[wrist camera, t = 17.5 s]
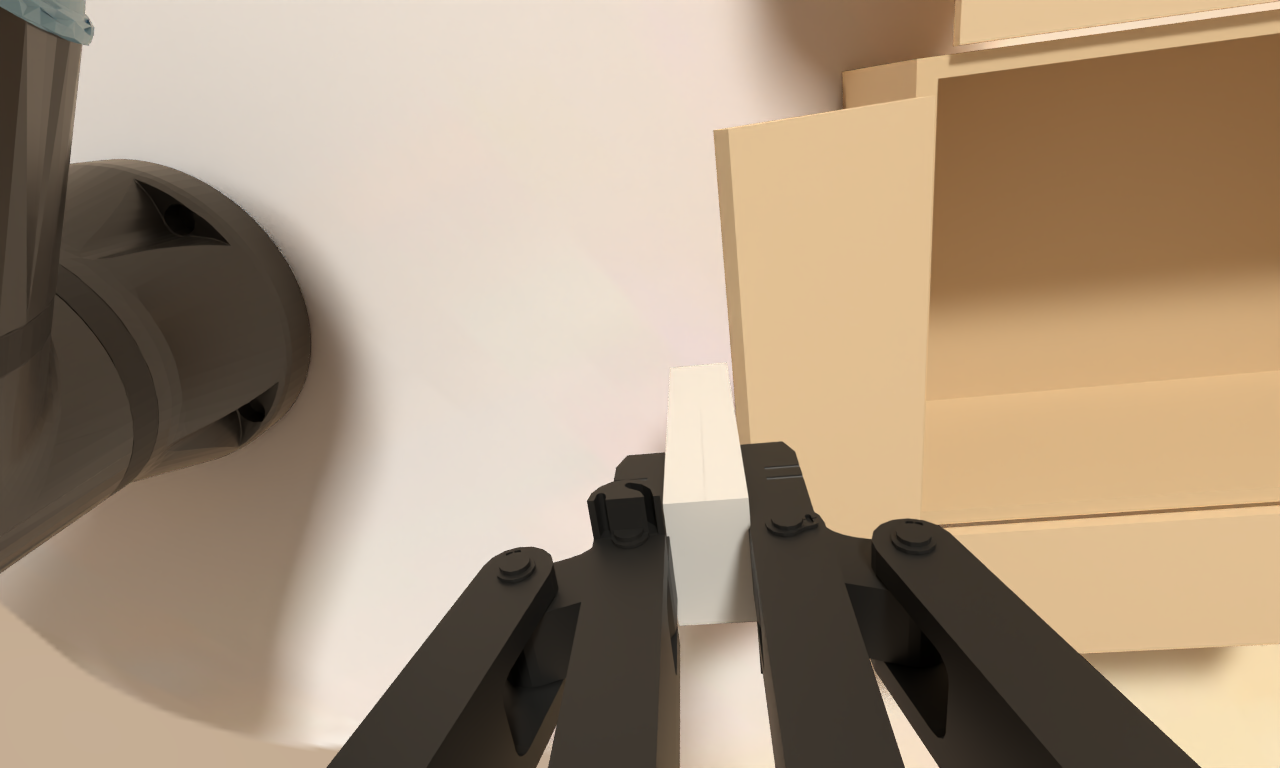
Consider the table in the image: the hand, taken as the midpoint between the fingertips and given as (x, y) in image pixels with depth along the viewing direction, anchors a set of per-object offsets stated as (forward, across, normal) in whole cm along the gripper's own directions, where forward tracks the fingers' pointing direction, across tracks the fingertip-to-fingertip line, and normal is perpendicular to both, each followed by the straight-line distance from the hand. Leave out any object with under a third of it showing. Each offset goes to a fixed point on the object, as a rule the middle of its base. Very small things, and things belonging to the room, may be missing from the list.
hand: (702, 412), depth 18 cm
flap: (+5, +7, 0) cm, 9 cm away
